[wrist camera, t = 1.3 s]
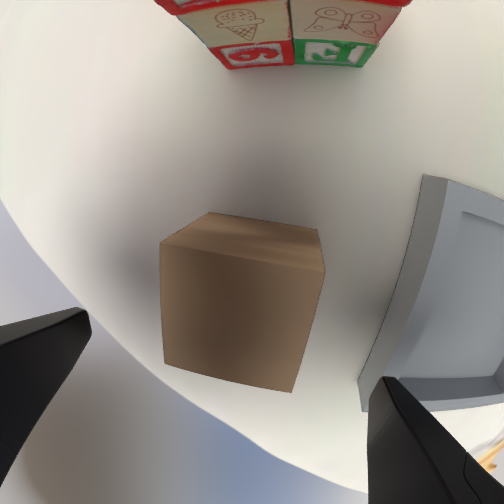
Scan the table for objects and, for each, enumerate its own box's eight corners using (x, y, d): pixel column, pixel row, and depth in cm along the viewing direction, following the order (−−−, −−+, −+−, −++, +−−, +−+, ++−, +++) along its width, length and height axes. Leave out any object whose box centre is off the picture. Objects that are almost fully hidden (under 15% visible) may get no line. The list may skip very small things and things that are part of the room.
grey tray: (556, 229, 9) (578, 240, 7) (491, 381, 13) (503, 402, 11) (423, 174, 11) (448, 179, 8) (357, 381, 15) (362, 411, 12)
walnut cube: (316, 229, 12) (324, 271, 8) (297, 322, 14) (291, 392, 9) (209, 211, 13) (159, 242, 8) (203, 304, 15) (164, 363, 10)
